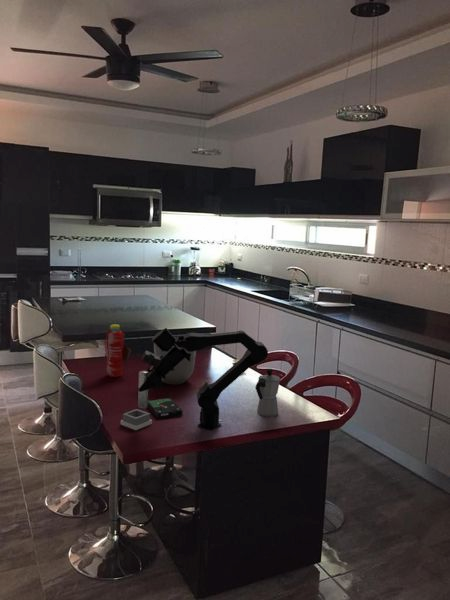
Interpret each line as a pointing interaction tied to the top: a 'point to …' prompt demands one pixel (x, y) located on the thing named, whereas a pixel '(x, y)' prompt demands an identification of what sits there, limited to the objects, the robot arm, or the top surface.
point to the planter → (178, 367)
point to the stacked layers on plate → (235, 361)
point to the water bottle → (115, 351)
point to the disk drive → (164, 408)
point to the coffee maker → (267, 394)
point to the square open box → (136, 419)
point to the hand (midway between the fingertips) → (139, 389)
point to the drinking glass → (144, 394)
